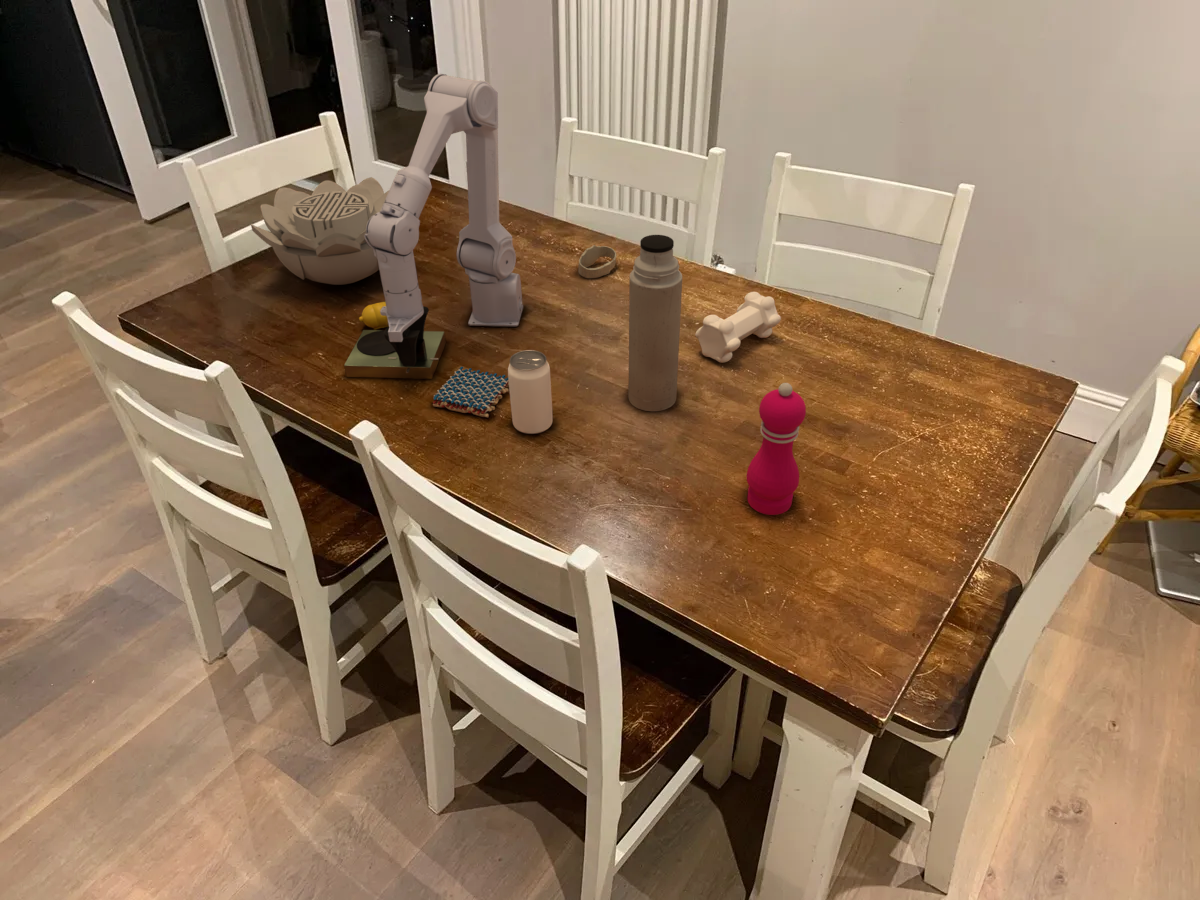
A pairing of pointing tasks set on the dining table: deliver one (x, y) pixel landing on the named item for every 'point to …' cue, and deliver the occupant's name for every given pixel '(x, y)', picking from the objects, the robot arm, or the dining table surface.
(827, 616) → the dining table surface
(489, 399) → the woven mat
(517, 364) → the can
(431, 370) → the hob
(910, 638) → the dining table surface
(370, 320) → the lemon
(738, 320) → the bone shaped toy
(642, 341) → the thermos bottle
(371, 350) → the burner
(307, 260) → the decorative bowl
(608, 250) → the grey oval ring
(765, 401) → the pepper mill
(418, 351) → the black block
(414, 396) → the dining table surface
